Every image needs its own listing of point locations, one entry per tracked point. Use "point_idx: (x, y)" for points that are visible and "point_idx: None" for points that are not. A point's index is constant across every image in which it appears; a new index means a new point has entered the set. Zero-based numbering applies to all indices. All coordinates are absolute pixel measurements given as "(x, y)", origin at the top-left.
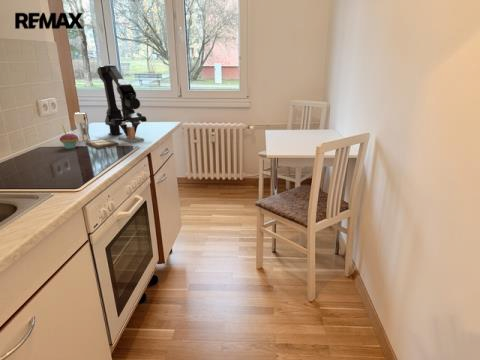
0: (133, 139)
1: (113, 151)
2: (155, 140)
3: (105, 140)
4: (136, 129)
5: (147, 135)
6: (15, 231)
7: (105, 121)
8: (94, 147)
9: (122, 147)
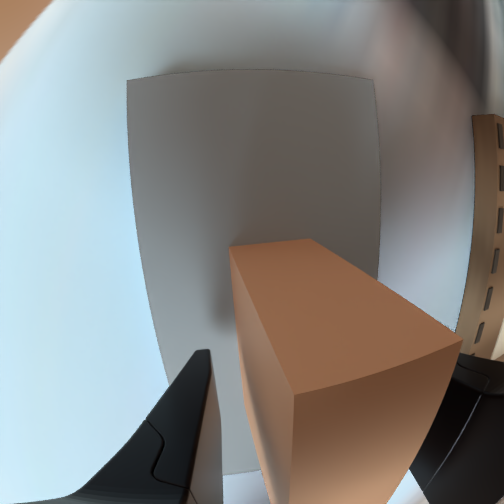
0: (313, 135)
1: (499, 9)
2: (7, 67)
3: (499, 317)
4: (147, 416)
5: (23, 412)
6: None
7: None
8: None
9: (457, 29)
